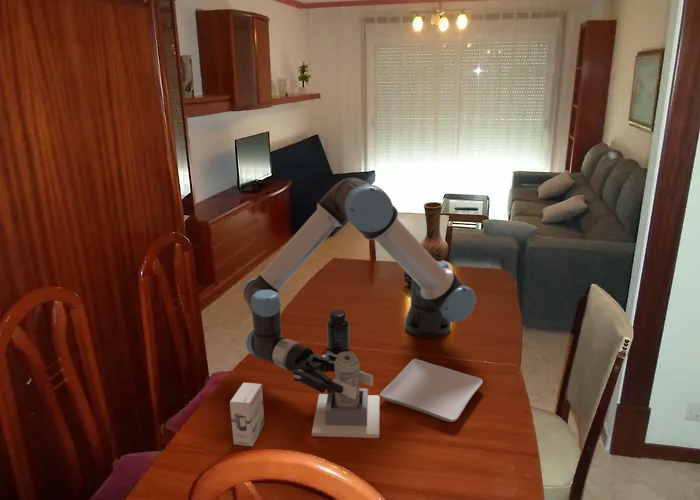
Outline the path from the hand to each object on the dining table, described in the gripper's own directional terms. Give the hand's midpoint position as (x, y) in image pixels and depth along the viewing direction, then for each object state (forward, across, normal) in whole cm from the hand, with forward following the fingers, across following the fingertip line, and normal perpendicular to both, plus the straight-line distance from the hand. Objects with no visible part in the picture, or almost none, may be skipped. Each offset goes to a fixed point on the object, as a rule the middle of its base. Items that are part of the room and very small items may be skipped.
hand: (363, 386), depth 128 cm
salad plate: (+7, -21, -11) cm, 25 cm away
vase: (-32, -86, -11) cm, 93 cm away
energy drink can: (-5, 0, -9) cm, 10 cm away
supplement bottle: (-29, -26, -11) cm, 40 cm away
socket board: (-5, 0, -10) cm, 12 cm away
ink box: (-19, +20, -11) cm, 30 cm away
